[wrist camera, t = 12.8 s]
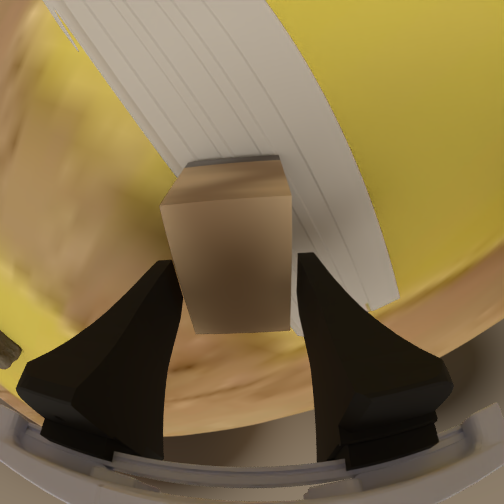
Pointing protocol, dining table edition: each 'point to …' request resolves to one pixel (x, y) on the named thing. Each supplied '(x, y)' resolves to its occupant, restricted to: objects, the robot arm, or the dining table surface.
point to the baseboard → (240, 117)
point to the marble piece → (8, 351)
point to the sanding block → (232, 243)
